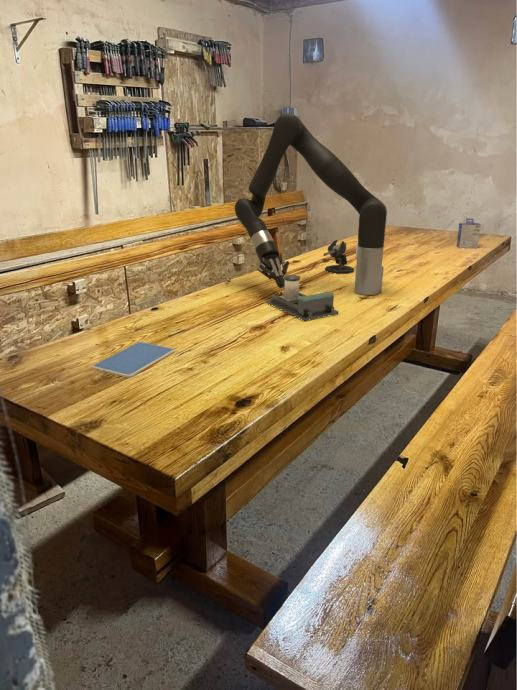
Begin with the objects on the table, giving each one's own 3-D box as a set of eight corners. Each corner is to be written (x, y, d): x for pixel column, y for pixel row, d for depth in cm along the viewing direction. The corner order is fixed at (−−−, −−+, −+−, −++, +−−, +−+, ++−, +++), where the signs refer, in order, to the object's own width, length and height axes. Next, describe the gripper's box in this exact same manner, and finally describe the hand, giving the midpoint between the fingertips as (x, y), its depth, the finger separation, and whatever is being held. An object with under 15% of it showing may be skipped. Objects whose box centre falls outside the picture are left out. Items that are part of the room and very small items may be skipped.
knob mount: (299, 297, 194) (299, 279, 192) (338, 314, 177) (339, 294, 175) (266, 303, 188) (266, 285, 185) (303, 321, 170) (304, 301, 168)
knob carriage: (294, 296, 191) (295, 273, 188) (304, 301, 186) (305, 277, 183) (278, 299, 187) (278, 276, 184) (287, 304, 182) (288, 280, 179)
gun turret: (312, 274, 226) (313, 243, 221) (333, 265, 241) (335, 236, 236) (339, 279, 219) (341, 247, 215) (359, 269, 235) (361, 239, 230)
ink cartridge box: (474, 246, 284) (478, 218, 279) (478, 248, 279) (482, 219, 273) (455, 246, 284) (459, 218, 279) (459, 248, 279) (463, 219, 274)
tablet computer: (129, 380, 131) (129, 375, 130) (90, 370, 136) (89, 365, 136) (176, 353, 147) (176, 348, 146) (139, 345, 152) (139, 340, 152)
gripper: (252, 241, 188) (271, 283, 183) (283, 238, 195) (302, 278, 190) (245, 254, 195) (262, 295, 189) (275, 250, 201) (293, 289, 196)
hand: (282, 286), depth 190 cm, fingers closed
